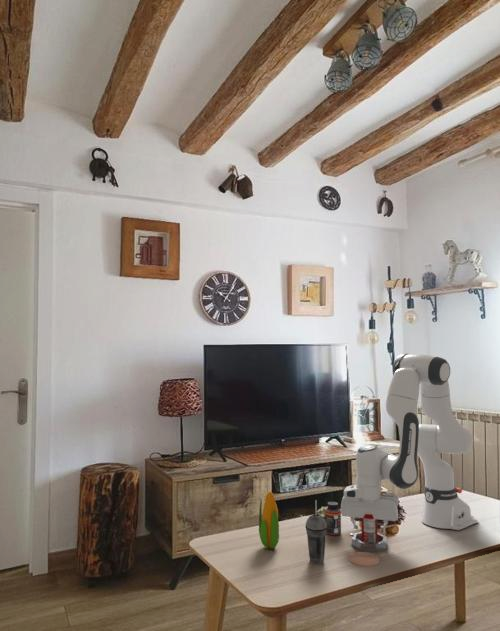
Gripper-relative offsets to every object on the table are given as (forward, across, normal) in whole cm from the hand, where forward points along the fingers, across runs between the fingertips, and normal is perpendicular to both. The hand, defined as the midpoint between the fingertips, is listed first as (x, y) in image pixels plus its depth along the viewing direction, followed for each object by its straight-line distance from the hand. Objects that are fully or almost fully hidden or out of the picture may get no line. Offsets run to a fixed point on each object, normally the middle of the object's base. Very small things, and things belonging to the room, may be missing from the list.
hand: (369, 530), depth 183 cm
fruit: (+5, +19, -13) cm, 24 cm away
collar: (+5, 0, 0) cm, 5 cm away
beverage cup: (+5, +16, +20) cm, 26 cm away
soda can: (+5, 0, 0) cm, 5 cm away
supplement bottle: (+5, +14, -7) cm, 17 cm away
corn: (+5, +33, +14) cm, 37 cm away
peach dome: (+5, +1, +13) cm, 14 cm away
